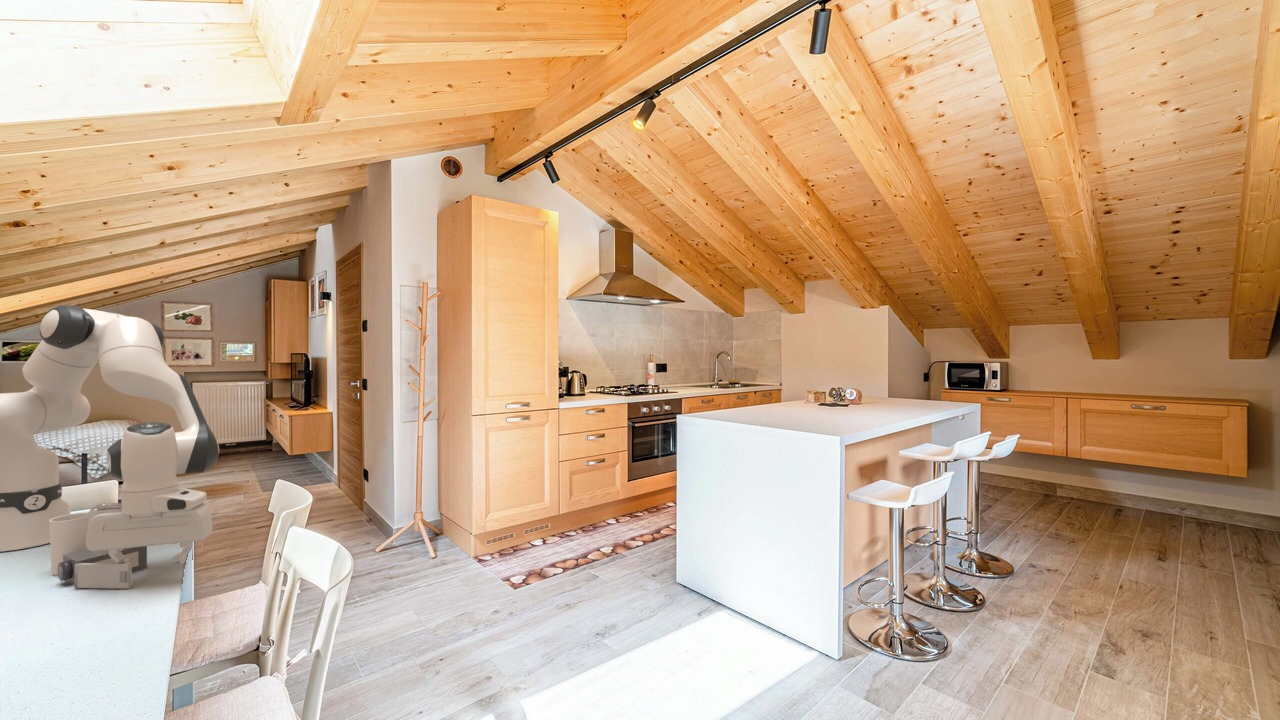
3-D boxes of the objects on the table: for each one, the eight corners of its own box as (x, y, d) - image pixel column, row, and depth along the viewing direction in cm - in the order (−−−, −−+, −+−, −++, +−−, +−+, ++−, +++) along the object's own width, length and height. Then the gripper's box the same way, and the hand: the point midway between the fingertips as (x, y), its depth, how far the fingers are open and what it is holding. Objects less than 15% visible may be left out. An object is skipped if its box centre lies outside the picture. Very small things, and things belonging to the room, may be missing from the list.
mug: (46, 579, 111) (45, 523, 111) (53, 569, 116) (52, 516, 116) (112, 566, 117) (112, 514, 117) (116, 558, 123) (116, 507, 123)
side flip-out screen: (78, 585, 107) (78, 562, 107) (132, 586, 106) (132, 563, 106) (72, 588, 106) (71, 565, 106) (126, 588, 105) (126, 565, 105)
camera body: (54, 582, 109) (53, 554, 109) (131, 561, 120) (131, 536, 120) (68, 590, 106) (68, 560, 106) (147, 568, 117) (147, 541, 116)
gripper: (76, 509, 102) (78, 578, 103) (201, 500, 109) (202, 565, 109) (98, 500, 108) (100, 565, 109) (215, 492, 115) (216, 554, 115)
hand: (152, 565), depth 109 cm, fingers open, 8 cm apart
